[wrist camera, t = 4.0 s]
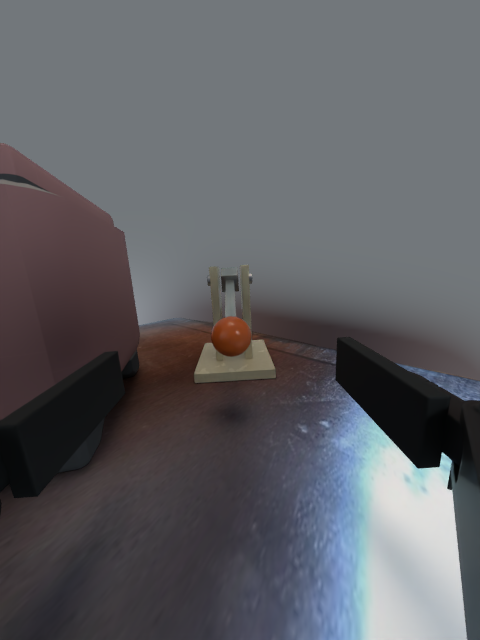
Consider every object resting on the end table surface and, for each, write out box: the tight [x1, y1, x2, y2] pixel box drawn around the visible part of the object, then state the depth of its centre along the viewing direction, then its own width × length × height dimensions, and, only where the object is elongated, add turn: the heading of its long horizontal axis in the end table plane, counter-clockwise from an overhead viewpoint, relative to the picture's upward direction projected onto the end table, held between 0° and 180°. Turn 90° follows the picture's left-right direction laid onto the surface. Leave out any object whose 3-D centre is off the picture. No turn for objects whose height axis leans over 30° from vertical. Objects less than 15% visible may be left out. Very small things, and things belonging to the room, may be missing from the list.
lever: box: [211, 267, 251, 357], centre depth 26 cm, size 16×4×4 cm, turn 2°
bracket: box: [194, 265, 276, 383], centre depth 33 cm, size 12×10×14 cm
